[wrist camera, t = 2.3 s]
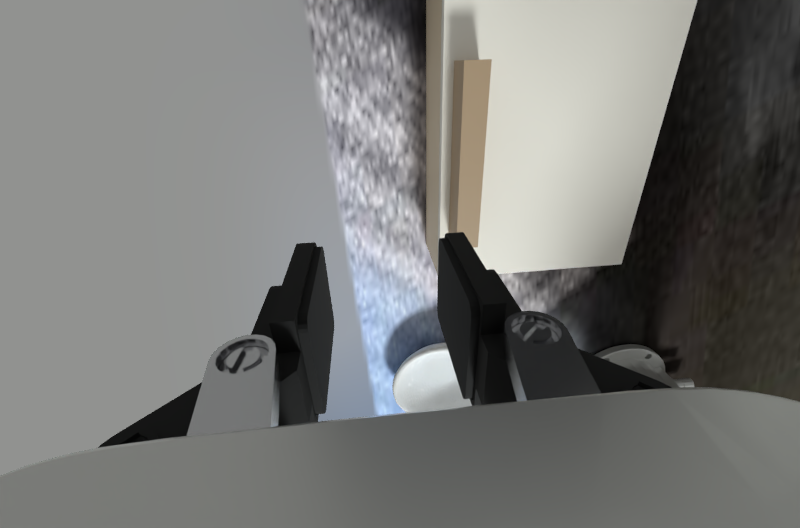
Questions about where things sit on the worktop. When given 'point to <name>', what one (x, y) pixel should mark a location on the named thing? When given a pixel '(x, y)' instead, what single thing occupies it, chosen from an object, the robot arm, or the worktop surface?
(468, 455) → the robot arm
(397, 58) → the worktop surface
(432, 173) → the box
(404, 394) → the spoon rest
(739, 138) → the worktop surface
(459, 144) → the lid
